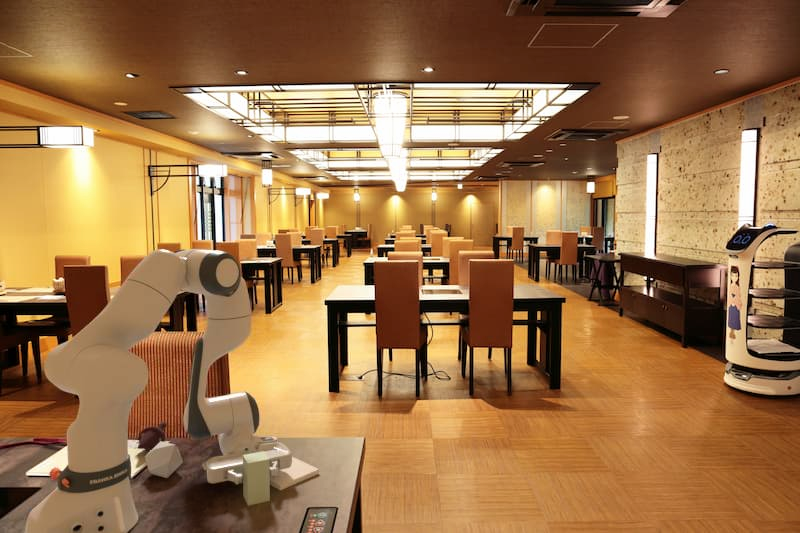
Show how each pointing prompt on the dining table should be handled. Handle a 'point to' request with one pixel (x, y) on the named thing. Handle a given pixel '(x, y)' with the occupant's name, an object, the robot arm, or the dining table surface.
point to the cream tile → (293, 474)
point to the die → (163, 459)
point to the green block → (256, 478)
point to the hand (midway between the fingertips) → (256, 477)
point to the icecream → (151, 436)
